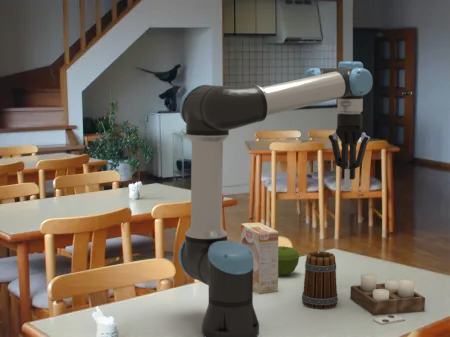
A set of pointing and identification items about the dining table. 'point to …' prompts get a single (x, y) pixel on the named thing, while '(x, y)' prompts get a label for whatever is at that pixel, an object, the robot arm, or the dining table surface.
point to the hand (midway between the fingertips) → (348, 189)
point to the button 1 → (368, 282)
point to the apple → (287, 260)
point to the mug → (320, 280)
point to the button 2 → (380, 294)
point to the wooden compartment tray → (387, 301)
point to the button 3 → (391, 284)
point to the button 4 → (405, 288)
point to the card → (388, 319)
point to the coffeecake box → (262, 255)
